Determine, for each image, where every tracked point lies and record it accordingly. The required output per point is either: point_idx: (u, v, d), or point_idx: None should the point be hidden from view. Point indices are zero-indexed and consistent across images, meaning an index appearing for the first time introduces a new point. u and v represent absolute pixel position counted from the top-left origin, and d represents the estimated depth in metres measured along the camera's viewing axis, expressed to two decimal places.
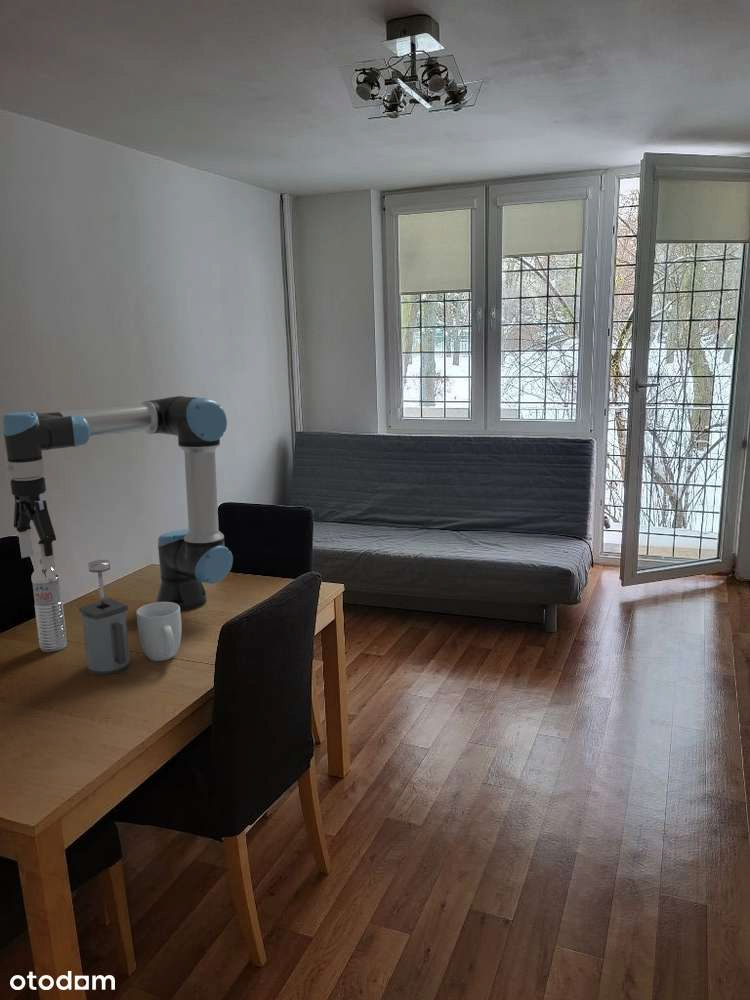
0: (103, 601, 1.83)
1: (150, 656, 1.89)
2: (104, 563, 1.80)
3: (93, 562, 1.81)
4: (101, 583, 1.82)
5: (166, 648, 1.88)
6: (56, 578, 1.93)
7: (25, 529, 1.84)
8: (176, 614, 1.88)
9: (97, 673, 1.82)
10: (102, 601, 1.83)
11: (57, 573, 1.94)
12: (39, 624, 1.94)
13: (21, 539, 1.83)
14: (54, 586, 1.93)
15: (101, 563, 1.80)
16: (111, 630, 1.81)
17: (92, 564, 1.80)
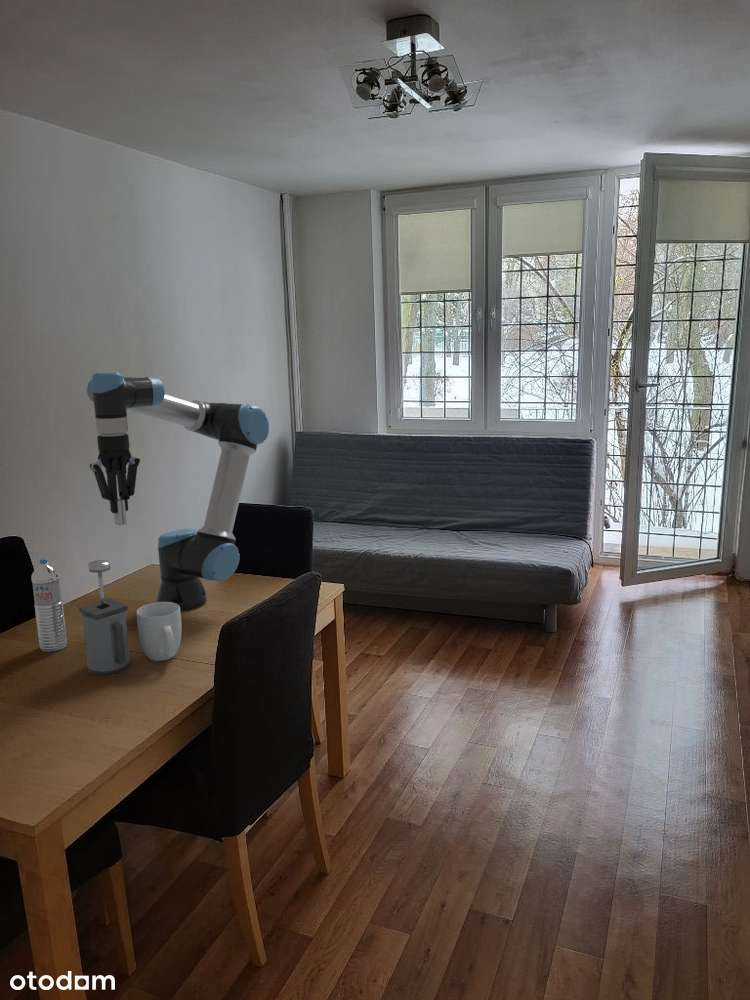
0: (103, 601, 1.83)
1: (150, 656, 1.89)
2: (104, 563, 1.80)
3: (93, 562, 1.81)
4: (101, 583, 1.82)
5: (166, 648, 1.88)
6: (56, 578, 1.93)
7: (122, 496, 1.89)
8: (176, 614, 1.88)
9: (97, 673, 1.82)
10: (102, 601, 1.83)
11: (57, 573, 1.94)
12: (39, 624, 1.94)
13: None
14: (54, 586, 1.93)
15: (101, 563, 1.80)
16: (111, 630, 1.81)
17: (92, 564, 1.80)
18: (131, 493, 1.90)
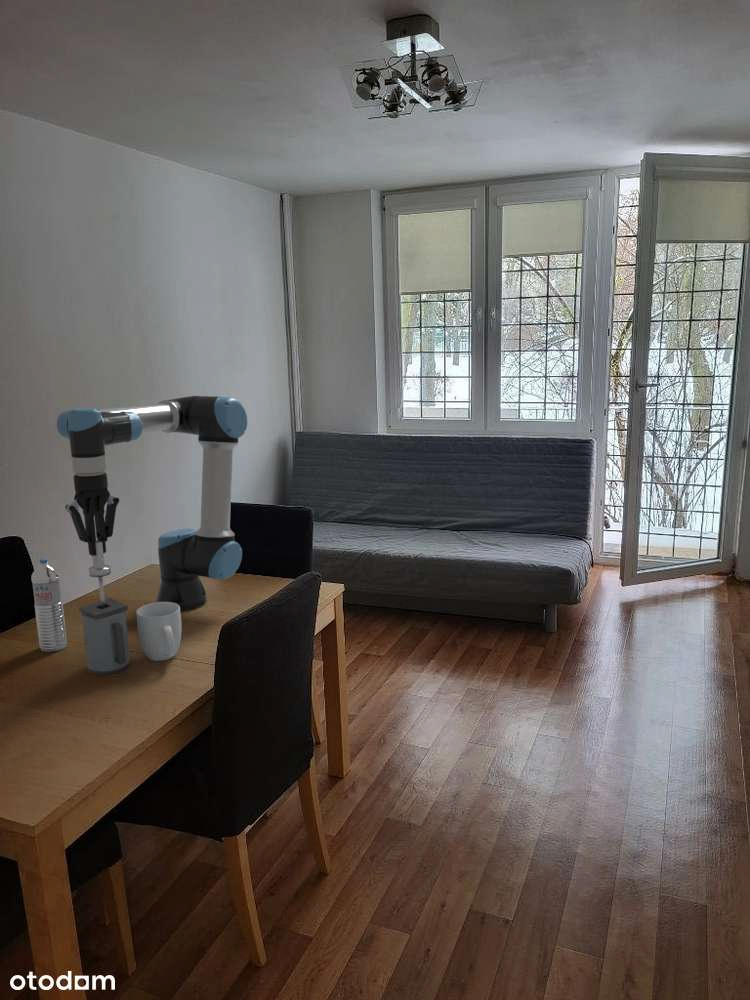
0: (103, 606, 1.83)
1: (150, 656, 1.89)
2: (104, 568, 1.81)
3: (93, 567, 1.82)
4: (101, 588, 1.82)
5: (166, 648, 1.88)
6: (56, 578, 1.93)
7: (99, 538, 1.80)
8: (176, 614, 1.88)
9: (97, 673, 1.82)
10: (102, 606, 1.83)
11: (57, 573, 1.94)
12: (39, 624, 1.94)
13: None
14: (54, 586, 1.93)
15: (101, 568, 1.81)
16: (111, 630, 1.81)
17: (92, 569, 1.80)
18: (109, 534, 1.81)
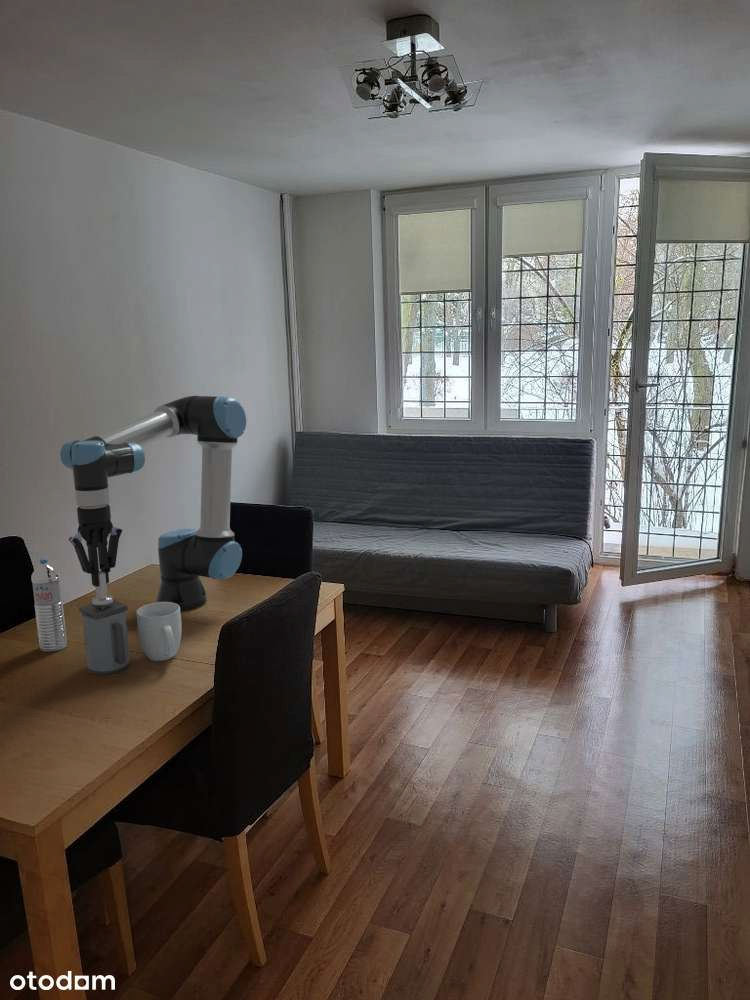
0: None
1: (150, 656, 1.89)
2: (107, 598, 1.82)
3: (97, 597, 1.83)
4: None
5: (166, 648, 1.88)
6: (56, 578, 1.93)
7: (102, 568, 1.81)
8: (176, 614, 1.88)
9: (97, 673, 1.82)
10: None
11: (57, 573, 1.94)
12: (39, 624, 1.94)
13: None
14: (54, 586, 1.93)
15: (104, 599, 1.82)
16: (111, 630, 1.81)
17: (95, 600, 1.82)
18: (112, 565, 1.82)
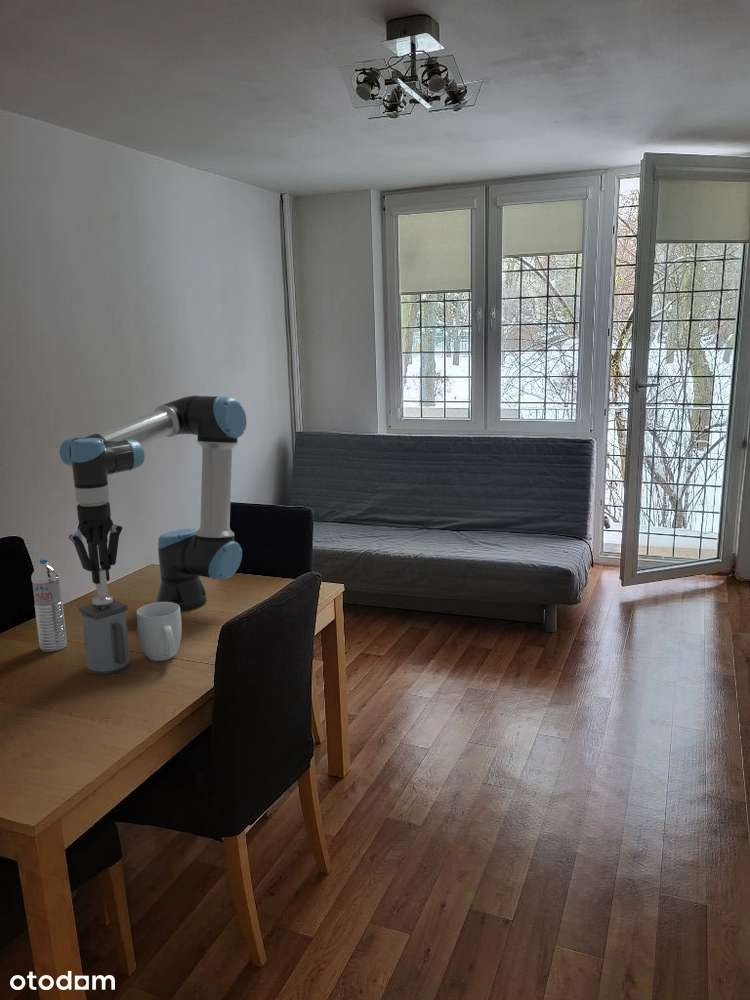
0: None
1: (150, 656, 1.89)
2: (107, 598, 1.82)
3: (96, 597, 1.83)
4: None
5: (166, 648, 1.88)
6: (56, 578, 1.93)
7: (103, 566, 1.82)
8: (176, 614, 1.88)
9: (97, 673, 1.82)
10: None
11: (57, 573, 1.94)
12: (39, 624, 1.94)
13: None
14: (54, 586, 1.93)
15: (104, 598, 1.82)
16: (111, 630, 1.81)
17: (95, 599, 1.82)
18: (112, 562, 1.82)
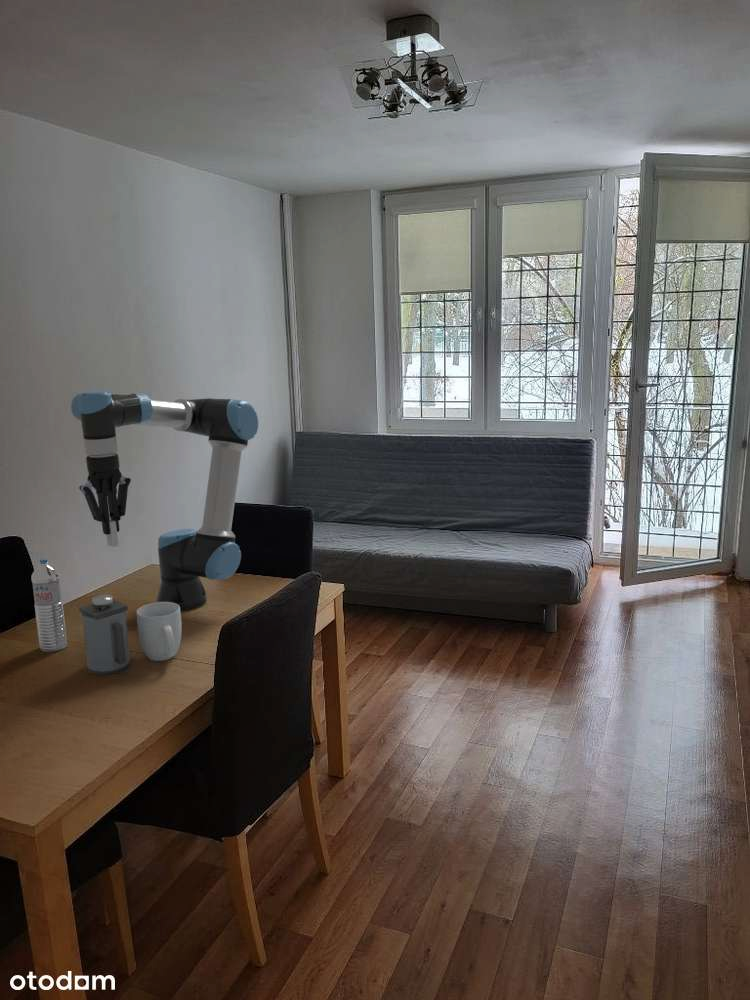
0: None
1: (150, 656, 1.89)
2: (107, 598, 1.82)
3: (96, 597, 1.83)
4: None
5: (166, 648, 1.88)
6: (56, 578, 1.93)
7: (113, 517, 1.85)
8: (176, 614, 1.88)
9: (97, 673, 1.82)
10: None
11: (57, 573, 1.94)
12: (39, 624, 1.94)
13: None
14: (54, 586, 1.93)
15: (104, 598, 1.82)
16: (111, 630, 1.81)
17: (95, 599, 1.82)
18: (122, 513, 1.86)
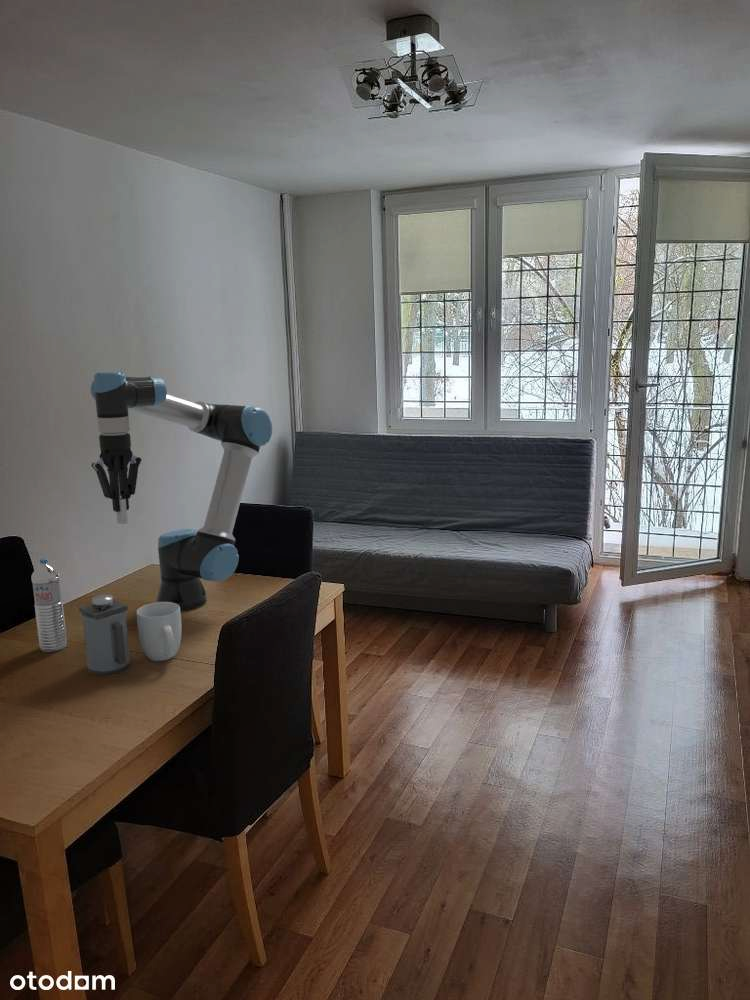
0: None
1: (150, 656, 1.89)
2: (107, 598, 1.82)
3: (96, 597, 1.83)
4: None
5: (166, 648, 1.88)
6: (56, 578, 1.93)
7: (123, 495, 1.91)
8: (176, 614, 1.88)
9: (97, 673, 1.82)
10: None
11: (57, 573, 1.94)
12: (39, 624, 1.94)
13: None
14: (54, 586, 1.93)
15: (104, 598, 1.82)
16: (111, 630, 1.81)
17: (95, 599, 1.82)
18: (132, 492, 1.91)
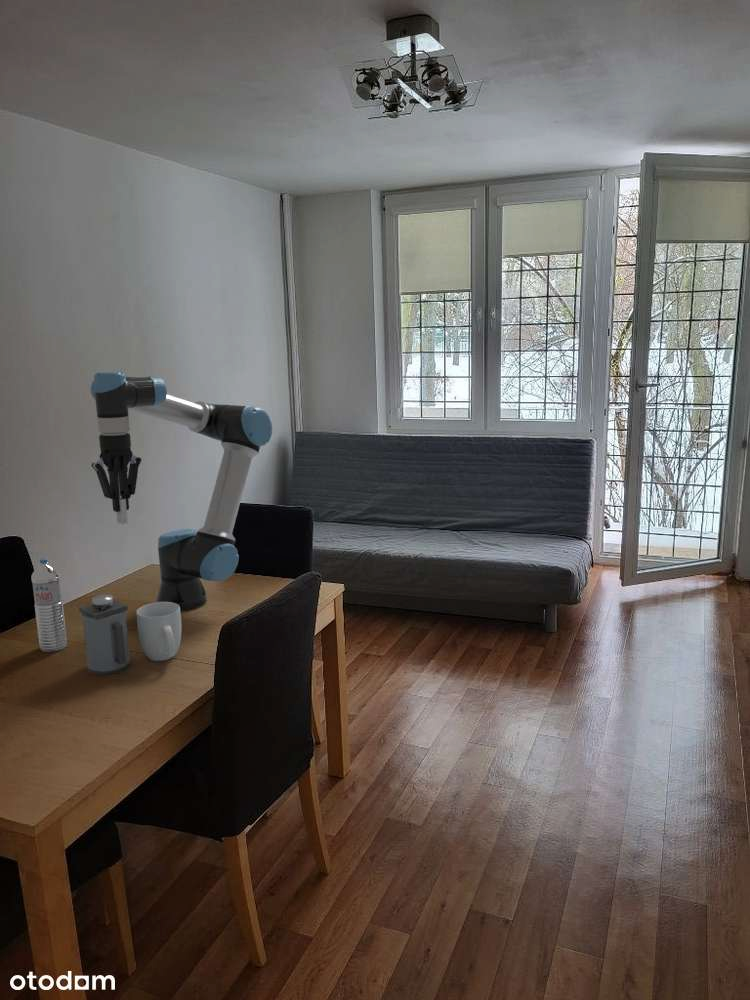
0: None
1: (150, 656, 1.89)
2: (107, 598, 1.82)
3: (96, 597, 1.83)
4: None
5: (166, 648, 1.88)
6: (56, 578, 1.93)
7: (123, 495, 1.91)
8: (176, 614, 1.88)
9: (97, 673, 1.82)
10: None
11: (57, 573, 1.94)
12: (39, 624, 1.94)
13: None
14: (54, 586, 1.93)
15: (104, 598, 1.82)
16: (111, 630, 1.81)
17: (95, 599, 1.82)
18: (132, 492, 1.91)
